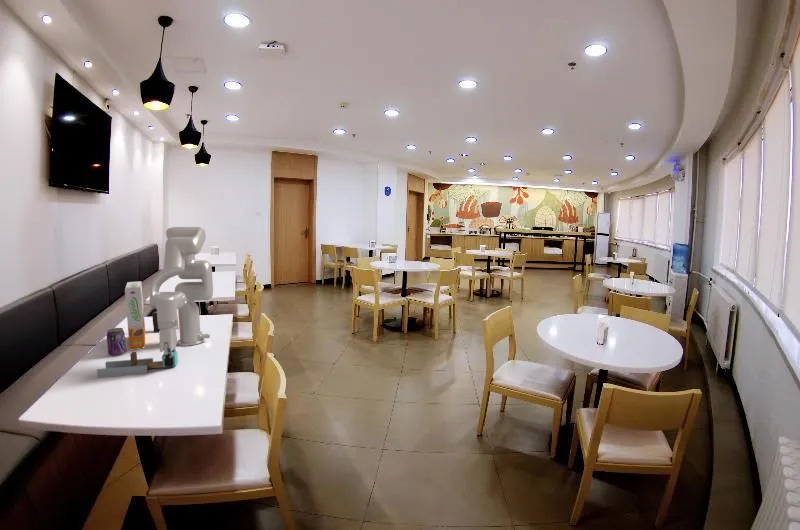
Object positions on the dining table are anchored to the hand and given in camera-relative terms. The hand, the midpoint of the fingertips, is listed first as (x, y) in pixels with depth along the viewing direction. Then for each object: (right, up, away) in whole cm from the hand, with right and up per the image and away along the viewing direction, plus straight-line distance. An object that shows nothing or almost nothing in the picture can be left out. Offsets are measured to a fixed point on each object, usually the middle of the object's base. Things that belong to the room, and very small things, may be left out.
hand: (170, 363), depth 185 cm
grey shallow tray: (-16, -2, -5) cm, 17 cm away
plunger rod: (-8, -2, -3) cm, 9 cm away
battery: (-34, +6, +52) cm, 62 cm away
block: (0, -1, 0) cm, 1 cm away
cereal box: (-34, +3, +32) cm, 47 cm away
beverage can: (-33, +1, +15) cm, 37 cm away
